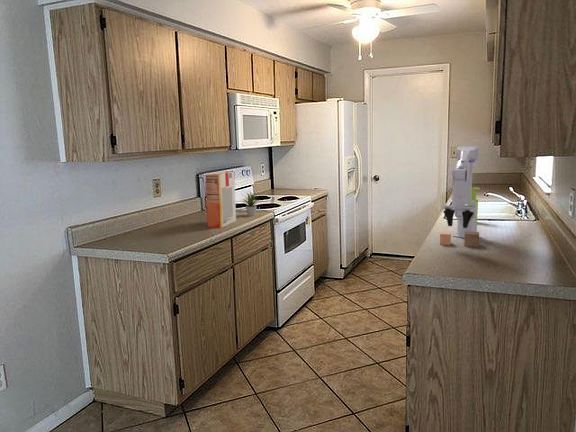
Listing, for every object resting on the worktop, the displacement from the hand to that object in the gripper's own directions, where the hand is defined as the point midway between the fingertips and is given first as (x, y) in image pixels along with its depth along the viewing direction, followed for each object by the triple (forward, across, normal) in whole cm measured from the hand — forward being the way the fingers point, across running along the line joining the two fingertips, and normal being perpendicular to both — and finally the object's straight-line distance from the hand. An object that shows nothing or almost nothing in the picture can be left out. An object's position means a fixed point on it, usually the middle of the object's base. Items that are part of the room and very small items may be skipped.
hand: (457, 226), depth 213 cm
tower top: (+6, 0, +11) cm, 13 cm away
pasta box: (+9, -125, -49) cm, 134 cm away
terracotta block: (+9, -9, +5) cm, 14 cm away
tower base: (+9, 0, +12) cm, 15 cm away
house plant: (+6, -137, -20) cm, 139 cm away
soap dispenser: (+3, -32, +60) cm, 68 cm away
